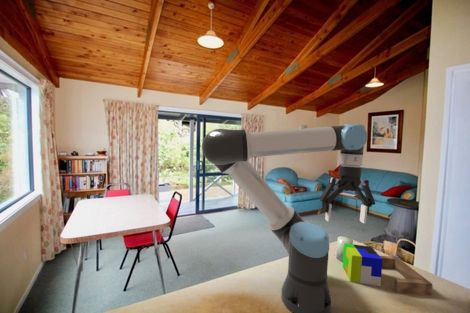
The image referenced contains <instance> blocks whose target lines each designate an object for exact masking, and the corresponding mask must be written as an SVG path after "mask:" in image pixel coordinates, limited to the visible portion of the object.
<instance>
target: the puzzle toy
mask: <svg viewBox="0 0 470 313" xmlns="http://www.w3.org/2000/svg"><path fill="white" fill-rule="evenodd" d="M380 256H381V255H380V254H378V253H377V251H375V249H374V248H373V247H372V246H370V245H361V244H354V243H353V244H345V243H344V254H343V262H342V268H343V270H344V273H345V274H346V276H347V278H348V280H349V282H350V283H358V284H364V285H370V286H377V287H381V285H382V274H383V273H382V272H383V271H382V270H383V267H382V260H383V259H382V258H381V257H380Z"/></svg>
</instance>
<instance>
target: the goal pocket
mask: <svg viewBox="0 0 470 313" xmlns="http://www.w3.org/2000/svg"><path fill="white" fill-rule="evenodd" d="M379 256H380V257H381V258H382V259H383V260H382V269H383V268H385V269H394V270H395V271H397V272H398V273H399V274H400V275H401V276H403V277H404V278H399V277H398V278H397V277H396V278H394V282H393V283H394V284H393V290H394V291H395V292H396V293H397V294H404V295H405V294H406V295H418V296H419V295H423V296H432V294H433V283H432V282H431V281H429V280H428V279H426V278H425V277H424V276H423V275H421V274H420V273H418V272H417V271H416V270H415V269H414V268H413V267H411V266H410V265H408V264H407V263H406V262H404V261H403V260H401V259H400V258H399V257H397V256H390V255H379Z"/></svg>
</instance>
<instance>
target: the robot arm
mask: <svg viewBox="0 0 470 313" xmlns="http://www.w3.org/2000/svg"><path fill="white" fill-rule="evenodd" d="M367 142H368V133H367V130H366V126H365V125H364V124H360V123H344V124H343V125H333V126H332V125H331V126H319V127H318V126H317V127H305V128H304V127H303V128H291V129H278V130H277V129H276V130H262V131H251V132H250V131H248V130H247V129H227V128H215V129H212V130H211V131H209V132H208V133H207V134H206V135H205V136H204V138H203V139H202V143H201V144H202V145H201V150H202V151H201V152H202V154H203V156H204V158H205V159H206V160H207V161H208V162H209V163H211V164H214V166H215V167H216V168H217V170H219V172H221V174H227V175H228V176H229V177H230V178H231V179H232V180H233V181H234V183H236V184H237V186H238V187H239V188H240V189H241V190H242V192H243V193H244V194H245V195H246V196H247V198H248V199H249V200H250V201H251V202H252V204H253V205H255V207H256V208H257V209H258V210H259V211H260V212H261V214H262V215H263V216H264V218H265V219H266V220H267V221H268V228H269V229H270V230H271V231H272V233H273V234H274V235H275V237H276V238H278V240H279V241H280V243H281V244H282V246H283V247H284V249H285V250H286V253H287V254H288V261H287V262H288V265H287V267H288V269H287V273H286V274H287V275H286V277H285V279H284V281H283V284H282V287H281V292H280V293H281V294H280V295H281V302H282V303H283V305H284V306H285V307H286V308H287V309H288V310H289V309H290V310H291V311H290V310H289V311H290V312H292V311H293V312H295V313H331V312H332V304H333V303H332V297H331V296H332V295H331V293H330V289H329V285H328V282H327V281H328V280H327V279H328V263H329V251H330V239H329V235H328V233H327V231H326V230H325V229H324V228H323V227H321V226H319V225H315V223H312V222H307V221H305V220H304V219H303V218H302V216H300V214H299V213H298V212H297V211H296V210H295V209H294V207H293V206H287V205H286V203H284V202H283V201H282V199H281V198H280V197H279V196H278V194H277V193H276V192H275V191H274V190H273V188H271V186H270V185H269V184H268V183H267V182H266V181H265V180H266V179H264V178H263V177H262V176H261V174H260V173H259V172H258V171H257V170H256V168H255V167H254V166H253V165H252V164H251V162H250V161H249V160H250V159H251V158H259V157H260V158H262V157H271V156H283V155H295V154H304V153H305V154H308V153H318V152H319V153H320V152H329V151H330V152H332V151H340V154H339V166H338V177H337V178H335V177H332V176H331V177H329V180H328V183H327V185H326V187H325V189H324V190H323V191H322V193H321V195H320V197H319V201H320V202H322V203H323V212H325V214H324V220H325V221H326V222H328V223H331V217H332V208H333V205H332V203H331V202H333V201H334V200H335V198H337V197H338V196H339V194H341V192H343V191H346V192H349V191H350V192H354V193H355V194H356V196H357V197H358V198H359V200H360V202H362V204H360V214H359V222H361V223H362V224H365V225H366V224H367V217H368V215H369V213H370V208H371V207H373V206H375V205H376V201H375V198H374V196H373V193H372V191H371V189H370V183H369V182H370V181H369V180H368V179H365V178H362V179H361V177H362V167H361V166H362V165H363V157H364V156H363V155H364V148H365V145H366V143H367ZM335 185H337V186H335ZM360 185H361V187H362V189H361V188H360ZM333 189H334V190H333ZM362 190H363V192H364V193H363V192H362ZM293 312H292V313H293Z"/></svg>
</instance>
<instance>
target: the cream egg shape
mask: <svg viewBox="0 0 470 313" xmlns="http://www.w3.org/2000/svg"><path fill="white" fill-rule="evenodd" d="M344 243H345V244H354V240H353V239H352V238H350V237H349V236H348V237H347V236H341V235H340V236H337V242H336V260H337V261H339V262H341V263H343V254H344Z"/></svg>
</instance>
